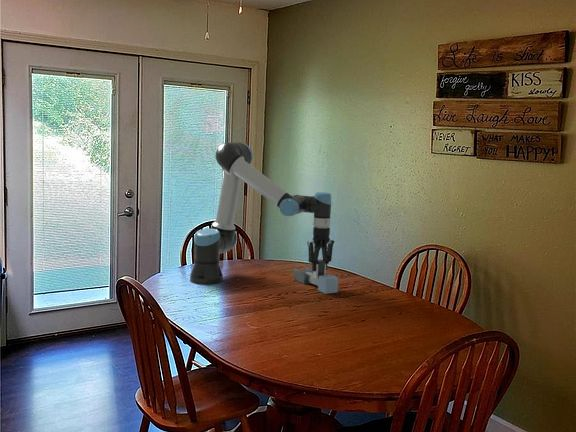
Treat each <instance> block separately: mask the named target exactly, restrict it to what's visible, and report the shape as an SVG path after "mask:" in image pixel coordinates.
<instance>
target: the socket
mask: <svg viewBox="0 0 576 432" xmlns="http://www.w3.org/2000/svg"><path fill="white" fill-rule="evenodd" d="M317 287H318V288H317V292H321V293H322V294H325V295H326V294H335V293H339V277H338V276H336V275H333V274H326V275H324V276H319V280H318V286H317Z"/></svg>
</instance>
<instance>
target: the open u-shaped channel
mask: <svg viewBox="0 0 576 432" xmlns="http://www.w3.org/2000/svg"><path fill="white" fill-rule="evenodd" d="M293 271H294V272H293V274H294V275H293V276H294V277H293V280H295V281H297V282H299V283H301V284H303V285H306V284H311V283H310V282H308V281H306V272H312V273H313V271H312V268H309V267H307V266H305V267H304V271H303V270H302V269H299V268H296V267H295V268H294V270H293Z"/></svg>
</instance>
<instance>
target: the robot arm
mask: <svg viewBox="0 0 576 432" xmlns="http://www.w3.org/2000/svg"><path fill="white" fill-rule="evenodd" d="M253 157H254V154H253V150H252V149H251V147H250V146H249V145H248V144H247V143H244V142H240V141H237V142H224V143H222V144H220V145H219V146H218V147H217V149H216V151H215V160H216V163H217V164H218V165H219V167H220V168H221V170H222V171H223V179H222V185H221V188H220V189H221V190H220V196H219V201H218V207H217V212H216V218H215V221H213V222H212V223H211V227H210V228H202V229H199V230H197V231H195V234H194V238H193V241H194V242H193V243H194V244H193V245H194V247H193V248H194V249H193V251H194V254H193V257H194V260H193V266H192V268H191V271H190V274H189V275H190V276H189V281H190V282H192V283H195V284H198V285H199V284H200V285H213V284H218V283H222V282H223V280H224V275H223V272H222V268H221V265H220V256H221V255H220V254H223V253H228V252H230V251H232V250H233V249H234V248H235V246H236V245H237V242H238V235H237V233H236V226H235V224H234V221H235V216H236V211H237V206H238V205H237V204H238V200H239V194H240V189H241V185H242V181H243V182H244V183H245V184H247V185H248V186H249V187H251V188H252V189H253V190H255V191H256V192H258V193H259V194H260V195H261V196H263V197H264V198H265V199H266V200H268V201H270V202H271V203H272V204H273V205H275V206H276V207H277V208H278V209H279V212H280V214H282V215H284V216H285V217H293V216H295V215H299V214H301V213H309V214H310V213H311V214H313V223H312V225H313V228H312V235H313V238H312V240H310V241H309V240H308V241H307V242H306V243H307V247H308V248H307V249H308V263H311V264H312V266H311V267H312V268H311V269H312V271H313V278H316V279H318V264H317V261H318V260H319V255H320V250H321V255H322V260H325V271H324V275H327V274H326V273H327V270H328V265H329V264H330V262H332V258H333V257H332V256H333V249H334V245H335V240H333V239H331V238H330V235H331V228H330V227H331V212H332V194H331V193H329V192H326V191H325V192H321V191H318V192H315V193H314V195H313V196H312V195H311V196H310V195H300V194H290V193H288V192H287V191H286V190H285V189H284V188H282V187H281V186H279V185H278V184H276V182H274V181H273V180H271V179H270V178H268V177H267V176H266V175H265V174H263V173H262V172H260V171H259V170H258V169H256V168H255V167H253V166H252V165H251V163H252V161H253Z"/></svg>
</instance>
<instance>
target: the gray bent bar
mask: <svg viewBox="0 0 576 432" xmlns="http://www.w3.org/2000/svg"><path fill="white" fill-rule="evenodd" d="M317 264H318V279H316V278H313V273H312V272H306V281H308V282H310V283H309V284H313V285H315V286H317V287H318V280H319V276H324V271H325V260H323V258H320V259H319V258H318V261H317Z"/></svg>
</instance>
